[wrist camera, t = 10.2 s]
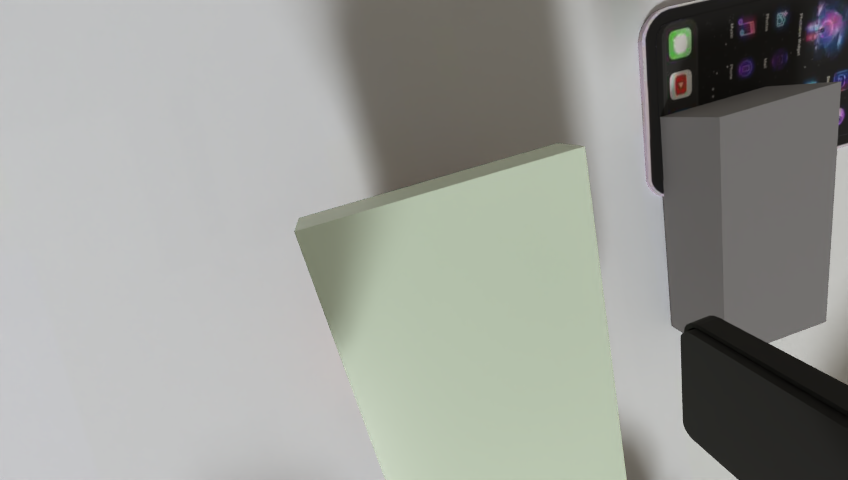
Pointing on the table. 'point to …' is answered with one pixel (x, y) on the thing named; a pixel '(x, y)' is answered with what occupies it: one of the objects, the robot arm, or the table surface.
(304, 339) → the table surface
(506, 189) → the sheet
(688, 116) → the tall grey rectangular block
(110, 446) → the table surface
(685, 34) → the smartphone
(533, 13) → the table surface
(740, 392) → the robot arm
